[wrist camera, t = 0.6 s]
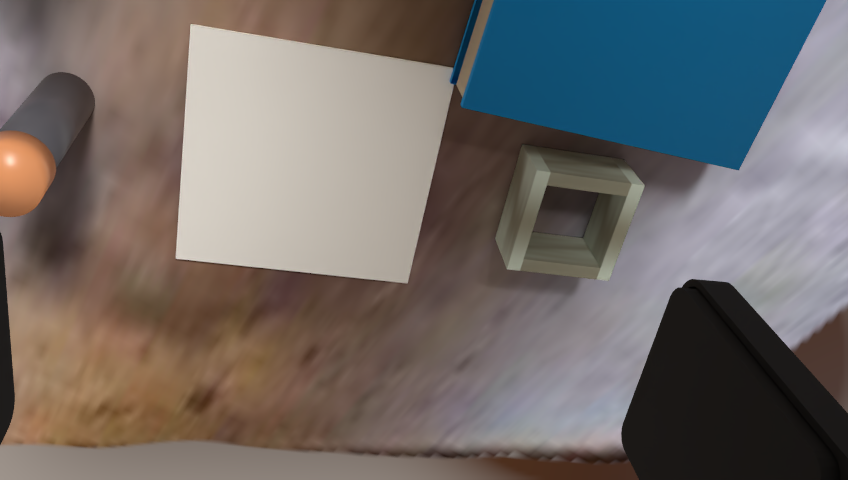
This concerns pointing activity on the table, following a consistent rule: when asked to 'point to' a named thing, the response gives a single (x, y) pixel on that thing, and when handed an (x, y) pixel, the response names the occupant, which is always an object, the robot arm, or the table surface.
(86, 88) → the marker
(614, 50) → the book
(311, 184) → the paper
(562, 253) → the pen holder
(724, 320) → the robot arm
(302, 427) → the table surface
